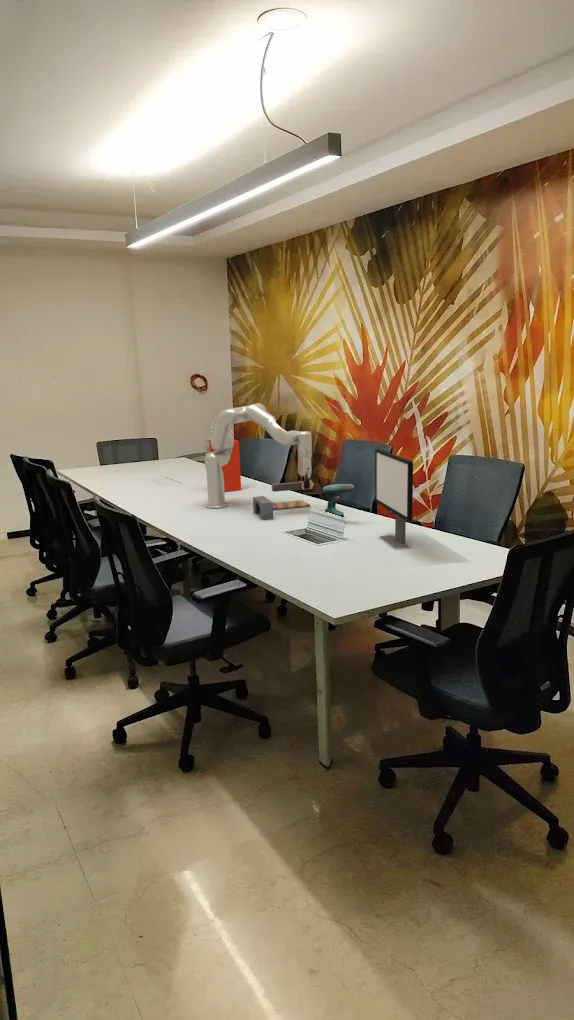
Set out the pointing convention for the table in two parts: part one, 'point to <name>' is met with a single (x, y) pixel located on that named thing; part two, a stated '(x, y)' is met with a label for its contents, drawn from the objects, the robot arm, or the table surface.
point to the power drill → (335, 496)
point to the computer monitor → (394, 493)
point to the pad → (290, 505)
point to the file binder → (232, 469)
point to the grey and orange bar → (290, 486)
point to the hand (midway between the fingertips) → (305, 487)
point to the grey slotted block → (263, 507)
